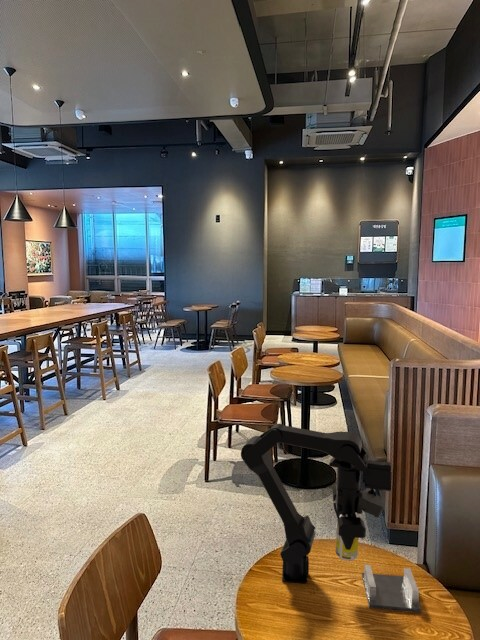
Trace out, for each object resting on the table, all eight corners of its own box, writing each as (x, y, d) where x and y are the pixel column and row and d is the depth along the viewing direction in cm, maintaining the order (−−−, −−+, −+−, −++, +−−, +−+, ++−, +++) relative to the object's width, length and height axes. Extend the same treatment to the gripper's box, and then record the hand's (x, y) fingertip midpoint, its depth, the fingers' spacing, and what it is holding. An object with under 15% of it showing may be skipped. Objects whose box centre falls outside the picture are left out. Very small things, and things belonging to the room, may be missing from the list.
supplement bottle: (362, 555, 109) (363, 518, 108) (348, 565, 106) (349, 526, 104) (344, 545, 113) (345, 508, 112) (330, 553, 110) (331, 516, 109)
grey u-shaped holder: (421, 612, 102) (421, 595, 101) (369, 608, 103) (369, 591, 103) (408, 580, 113) (409, 564, 112) (362, 576, 114) (362, 560, 114)
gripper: (389, 506, 97) (387, 569, 99) (374, 468, 116) (372, 523, 117) (339, 502, 99) (338, 565, 100) (332, 466, 117) (331, 520, 119)
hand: (346, 541), depth 109 cm, fingers closed on supplement bottle, 5 cm apart
